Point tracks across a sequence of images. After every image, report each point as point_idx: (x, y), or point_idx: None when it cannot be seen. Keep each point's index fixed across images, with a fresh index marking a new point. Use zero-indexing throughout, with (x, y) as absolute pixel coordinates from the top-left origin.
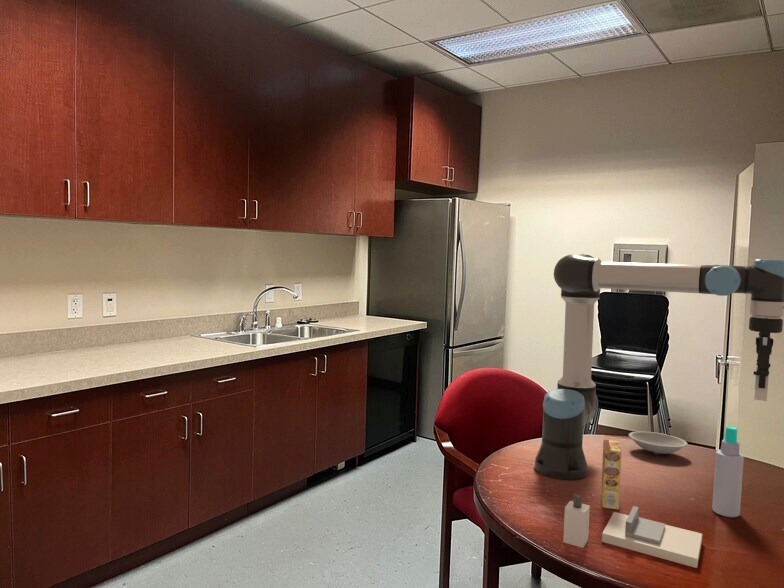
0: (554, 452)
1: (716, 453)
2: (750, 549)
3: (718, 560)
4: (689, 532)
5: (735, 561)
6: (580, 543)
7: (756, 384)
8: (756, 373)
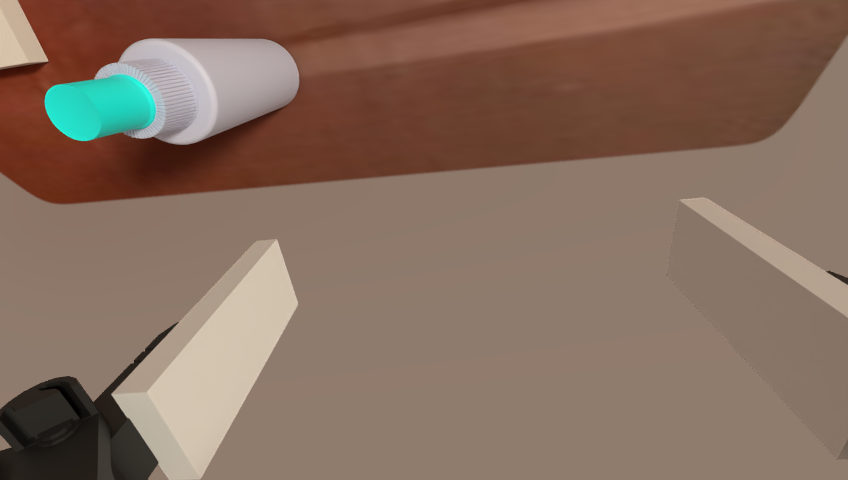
0: None
1: (133, 44)
2: (122, 153)
3: (10, 109)
4: (1, 33)
5: (41, 137)
6: None
7: (189, 321)
8: (29, 423)
